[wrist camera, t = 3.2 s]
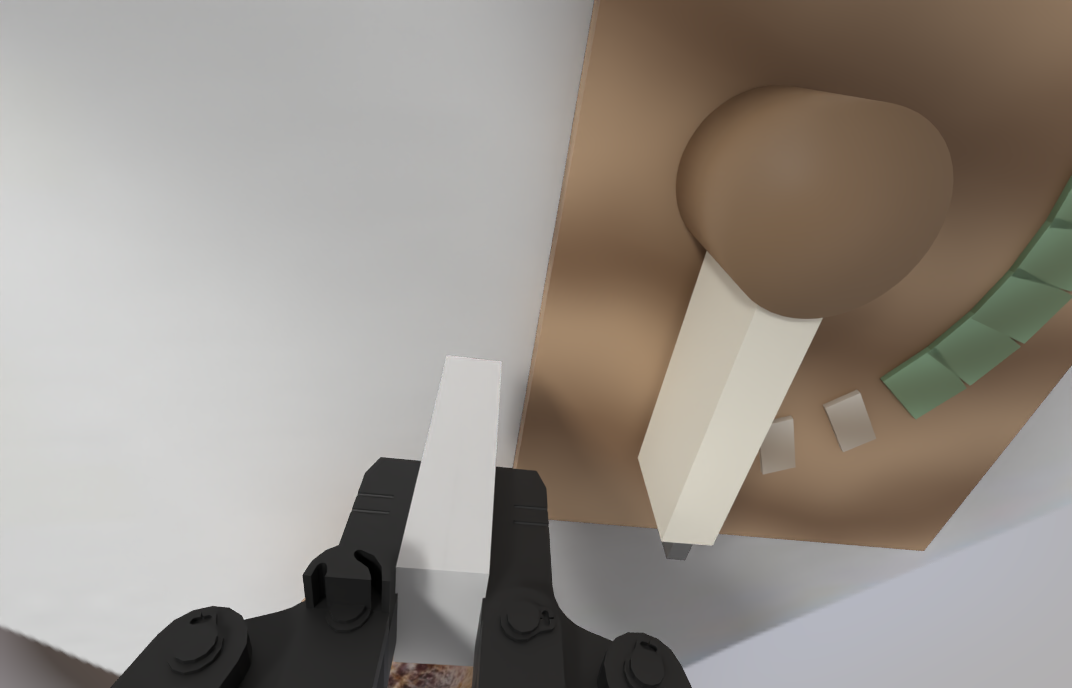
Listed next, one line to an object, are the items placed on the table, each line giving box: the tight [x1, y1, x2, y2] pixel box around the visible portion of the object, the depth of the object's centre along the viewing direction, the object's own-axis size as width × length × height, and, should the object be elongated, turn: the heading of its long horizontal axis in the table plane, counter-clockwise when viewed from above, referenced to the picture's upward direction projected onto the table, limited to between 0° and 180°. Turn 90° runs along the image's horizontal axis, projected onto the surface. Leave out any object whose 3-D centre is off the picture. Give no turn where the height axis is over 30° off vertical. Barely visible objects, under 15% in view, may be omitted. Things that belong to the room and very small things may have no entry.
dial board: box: [513, 0, 1072, 551], centre depth 17 cm, size 20×18×1 cm
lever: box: [638, 85, 953, 560], centre depth 14 cm, size 13×4×4 cm, turn 171°
